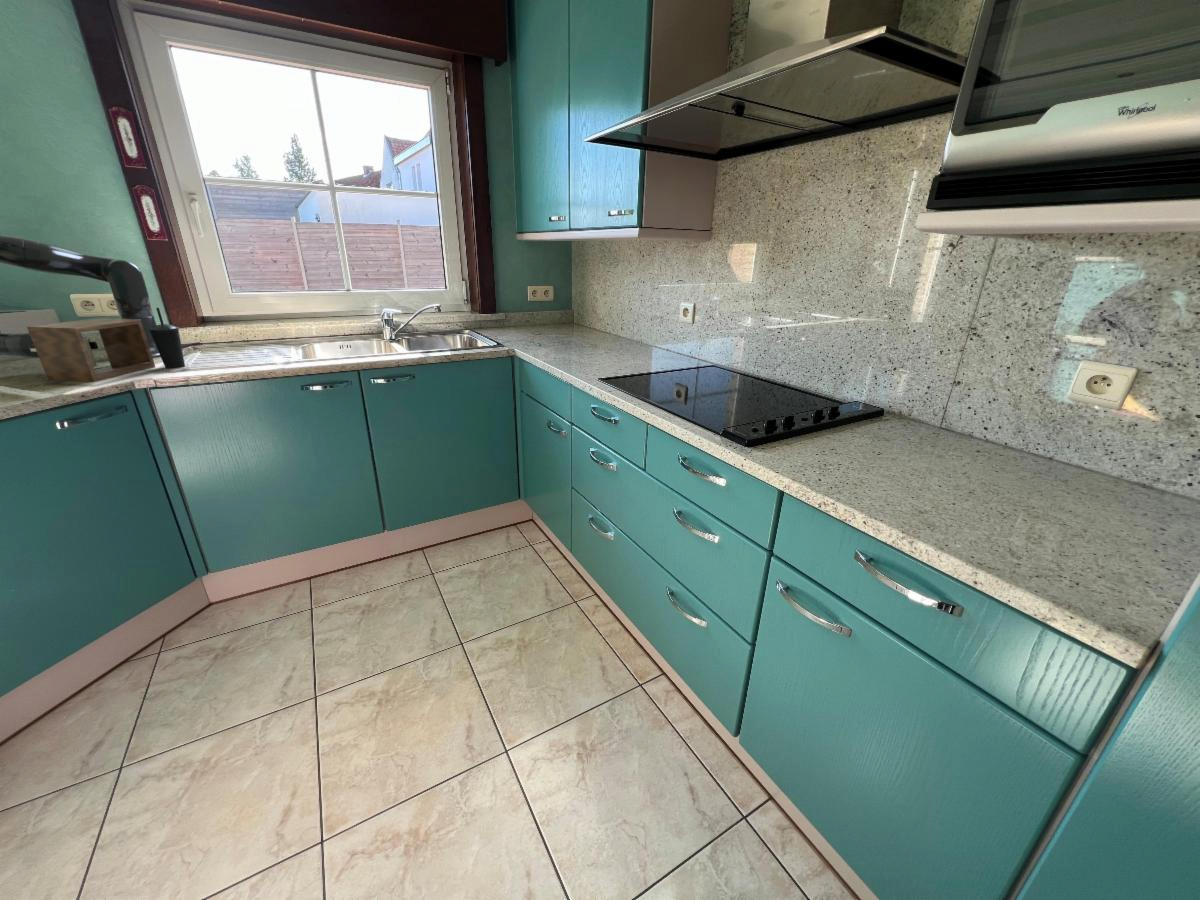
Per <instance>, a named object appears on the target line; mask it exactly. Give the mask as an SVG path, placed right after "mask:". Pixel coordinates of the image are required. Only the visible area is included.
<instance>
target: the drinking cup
mask: <svg viewBox="0 0 1200 900" xmlns="http://www.w3.org/2000/svg"><path fill="white" fill-rule="evenodd" d="M155 309H156V313H157V316H158V319H159V322H160V324H157V325H156V326H153V327H151V328H149V329H148V331H150V333H151V335H152V338H153V340H154V342H155V345H156V347H157V349H158V352H159V354H160V356H159V357H160V359H161V360H162V363H163V366H164V368H165V369H169V370H170V369H181V368H184V367H186V363H185V357H184V353H183V347H181V346H182V343H181V336H180V331H179V330H180V327H179V326H176V325H175V326H174V325H173V324H168V323H167V324H166V323H164V320H163V317H162V314H161V310H160V307H156V308H155Z"/></svg>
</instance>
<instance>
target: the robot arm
mask: <svg viewBox="0 0 1200 900" xmlns="http://www.w3.org/2000/svg"><path fill="white" fill-rule="evenodd" d="M0 264H1V265H5V266H10V267H14V268H18V269H24V270H30V271H35V272H40V273H48V274H53V275H54V274H55V275H64V276H76V277H77V276H78V277H83V278H84V277H85V278H88V279H93V280H96V281H101V282H106V283H109V286H110V287H109V288H110V290H111V293H112V297H113V300H114V305H115V307H116V310H117V313H118V316H119V319H138V320H141V323H142V326H143V329H144V332H145V335H146V338H147V342H148V345H149V348H150V351H151V354H152V357H153V358H157V357H161V356H160V354H159V352H158V349H157V347H156V345H155V342H154V340H153V338H152V335H151V333H150V331H148V329H149V328H151V327H153V326H156V325H158V324H157V321H156V318H155V315H154V311H153V308H152V305H151V300H150V296H149V292H148V287H147V285H146V281H145V278H144V276H143V273H142V271H141V269H140V268H139V267H138V266H137V265H135V264H134V263H133V262H131V261H128V260H125V259H117V258H109V257H107V258H106V257H101V256H94V255H88V254H84V253H80V252H76V251H73V250H69V249H67V248H63V247H60V246H57V245H53V244H49V243H46V242H42V241H37V240H33V239H27V238H24V237H23V238H22V237H18V236H13V235H3V234H0ZM88 341H89V344H90V347H91V350H99V346H98V343H97V342H96V341H90V339H88ZM200 344H201V342H200V341H197V342H191V343H186V344H181V347H182V348H185V347H190V346H196V345H200ZM0 356H11V357H23V358H37V359H39V356H38V354H37V351H36V349H35V346H34V344H33V341H32V339H31V336H30V334H29V331H19V332H10V331H3V332H2V331H1V330H0Z"/></svg>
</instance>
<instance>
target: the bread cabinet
mask: <svg viewBox="0 0 1200 900" xmlns="http://www.w3.org/2000/svg"><path fill="white" fill-rule="evenodd" d="M26 328H27V332H29V334H30V336H31V339H32V341H33V344H34V346H35V349H36V351H37V354H38V356H39V358H38V359H39V361H40V363H41V366H42V368H43V371H44V373H45V376H46V378H47V380H48V381H61V382H62V381H63V382H86V383H87V382H89V383H95V382H99V381H103V380H108V379H112V378H117V377H120V376H121V377H122V376H125V375H129V374H134V373H137V372H140V371H146V370H151V369H154V368H156V364H155V361H154V357H152V354H151V351H150V348H149V345H148V342H147V338H146V335H145V332H144V329H143V326H142V323H141V320H138V319H120V318H106V317H104V318H103V317H95V318H86V319H79V320H71V321H61V322H54V323H45V324H37V325H29V326H26ZM90 331H98V332H99V335H100V338H101V341H102V344H103V347H104V350H105V352H106V355H107V358H108V361H109V364H110V366H106V367H101V368H97V369H95V367H93V365H92V363H91V360H90V357H89V354H88V352H87V349H86V346H85V343H84V340H83V338H82V335H81V333H84V332H90Z"/></svg>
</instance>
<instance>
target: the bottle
mask: <svg viewBox="0 0 1200 900" xmlns="http://www.w3.org/2000/svg"><path fill="white" fill-rule="evenodd" d="M81 335H82V338H83V340H84V343H85V346H86V349H87V352H88V354H89V357H90V360H91V363H92V365H93V368H95V367H98V364H97V361H96V359H95V358H96V357H95V356H94V352H93V349H91V347H90V344H89V341H88V340H89V338H88V336H87V335H84V332H81Z"/></svg>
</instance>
